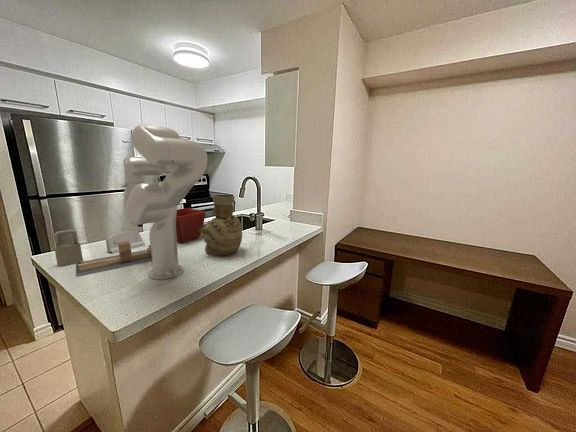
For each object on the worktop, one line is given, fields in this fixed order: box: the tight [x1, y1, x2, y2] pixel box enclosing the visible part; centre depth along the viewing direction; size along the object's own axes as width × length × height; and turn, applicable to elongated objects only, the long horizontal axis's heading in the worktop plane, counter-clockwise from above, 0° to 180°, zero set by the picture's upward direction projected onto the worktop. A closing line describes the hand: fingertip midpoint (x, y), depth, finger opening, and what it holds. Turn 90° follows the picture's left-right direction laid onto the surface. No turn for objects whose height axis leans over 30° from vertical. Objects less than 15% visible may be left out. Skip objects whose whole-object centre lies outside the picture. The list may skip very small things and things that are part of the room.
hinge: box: [105, 230, 146, 255], centre depth 126 cm, size 17×5×10 cm, turn 150°
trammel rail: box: [79, 244, 151, 271], centre depth 108 cm, size 9×30×3 cm, turn 131°
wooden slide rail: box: [75, 249, 152, 277], centre depth 109 cm, size 14×32×1 cm, turn 131°
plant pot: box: [176, 207, 206, 244], centre depth 142 cm, size 19×19×17 cm
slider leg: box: [118, 241, 132, 262], centre depth 108 cm, size 9×4×8 cm, turn 41°
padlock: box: [53, 229, 84, 267], centre depth 105 cm, size 4×8×15 cm, turn 144°
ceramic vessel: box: [199, 194, 243, 258], centre depth 120 cm, size 19×21×30 cm
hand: (140, 226), depth 109 cm, fingers closed
